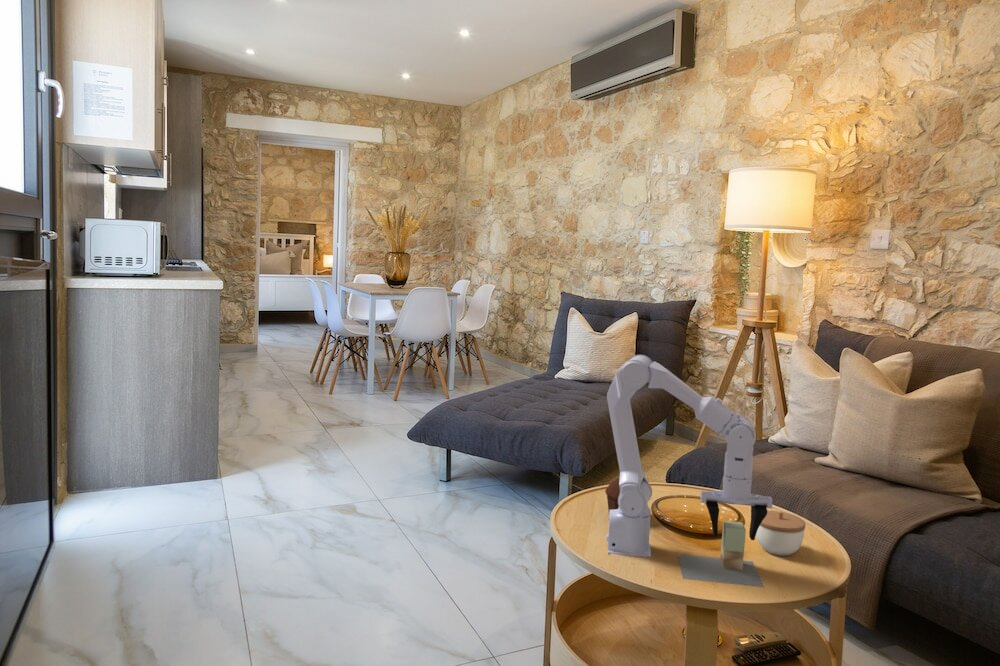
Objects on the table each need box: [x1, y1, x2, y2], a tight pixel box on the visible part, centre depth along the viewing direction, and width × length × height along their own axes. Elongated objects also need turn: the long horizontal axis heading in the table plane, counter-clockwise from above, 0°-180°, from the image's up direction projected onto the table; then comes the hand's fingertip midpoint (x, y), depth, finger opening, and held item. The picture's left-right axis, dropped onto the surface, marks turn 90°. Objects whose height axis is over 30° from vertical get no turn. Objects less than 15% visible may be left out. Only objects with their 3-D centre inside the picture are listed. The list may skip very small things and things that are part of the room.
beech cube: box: [719, 543, 745, 570], centre depth 150 cm, size 4×4×4 cm
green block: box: [721, 520, 746, 553], centre depth 150 cm, size 4×4×5 cm
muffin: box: [604, 477, 620, 513], centre depth 177 cm, size 12×11×10 cm
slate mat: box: [677, 553, 765, 588], centre depth 148 cm, size 16×12×1 cm
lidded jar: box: [755, 510, 806, 557], centre depth 159 cm, size 11×11×9 cm
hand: (733, 536), depth 150 cm, fingers open, 7 cm apart
